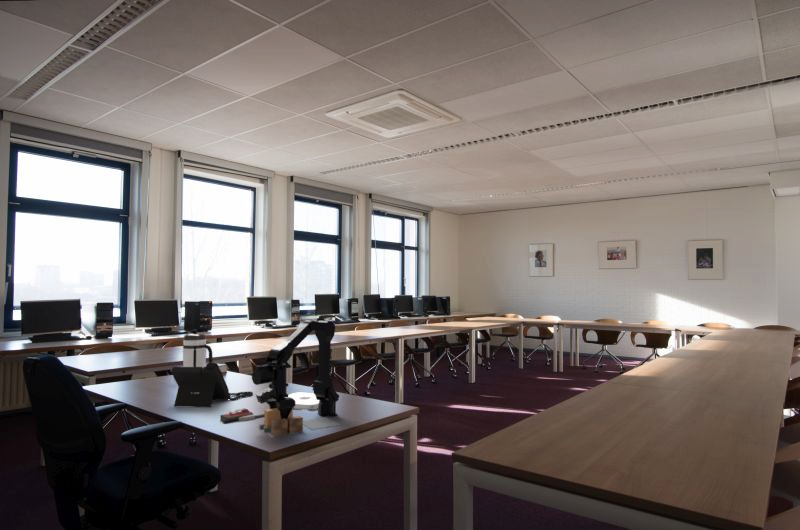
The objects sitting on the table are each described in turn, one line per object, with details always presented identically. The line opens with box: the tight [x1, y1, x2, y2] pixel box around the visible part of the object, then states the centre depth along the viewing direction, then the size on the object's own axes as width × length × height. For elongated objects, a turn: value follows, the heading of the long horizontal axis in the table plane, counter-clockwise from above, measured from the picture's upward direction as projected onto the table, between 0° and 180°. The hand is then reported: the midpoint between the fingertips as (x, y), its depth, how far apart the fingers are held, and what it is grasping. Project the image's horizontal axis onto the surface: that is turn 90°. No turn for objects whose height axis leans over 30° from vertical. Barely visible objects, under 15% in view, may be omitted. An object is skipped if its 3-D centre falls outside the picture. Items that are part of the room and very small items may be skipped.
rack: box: [258, 423, 306, 438], centre depth 185 cm, size 13×15×2 cm
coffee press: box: [182, 328, 213, 368], centre depth 285 cm, size 17×16×30 cm
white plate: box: [285, 391, 319, 411], centre depth 229 cm, size 22×22×3 cm
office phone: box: [170, 361, 254, 408], centre depth 237 cm, size 29×28×20 cm
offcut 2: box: [287, 415, 304, 434], centre depth 182 cm, size 5×3×5 cm, turn 125°
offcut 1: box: [271, 418, 288, 437], centre depth 179 cm, size 5×3×5 cm, turn 125°
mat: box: [303, 417, 341, 431], centre depth 193 cm, size 12×13×1 cm
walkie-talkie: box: [219, 407, 265, 424], centre depth 202 cm, size 9×4×20 cm
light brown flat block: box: [264, 408, 294, 427], centre depth 188 cm, size 10×3×7 cm, turn 125°
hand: (278, 421), depth 188 cm, fingers open, 9 cm apart
